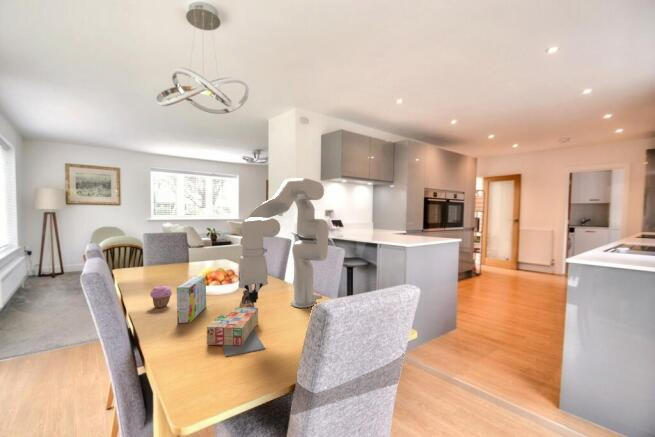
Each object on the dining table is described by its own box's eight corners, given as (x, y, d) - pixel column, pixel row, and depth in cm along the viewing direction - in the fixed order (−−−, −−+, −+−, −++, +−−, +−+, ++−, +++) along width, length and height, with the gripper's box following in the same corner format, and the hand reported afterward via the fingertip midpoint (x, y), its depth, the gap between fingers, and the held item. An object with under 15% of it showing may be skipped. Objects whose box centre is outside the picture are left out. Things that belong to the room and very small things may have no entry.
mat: (249, 322, 124) (249, 321, 124) (265, 349, 100) (265, 348, 100) (216, 327, 118) (216, 326, 118) (225, 356, 95) (225, 355, 95)
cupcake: (146, 308, 141) (146, 286, 140) (162, 302, 149) (162, 282, 148) (159, 310, 137) (159, 288, 137) (175, 305, 145) (175, 284, 145)
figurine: (258, 315, 132) (258, 288, 132) (248, 321, 125) (248, 292, 125) (245, 313, 135) (246, 286, 135) (234, 318, 128) (234, 290, 128)
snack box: (194, 307, 143) (194, 275, 143) (206, 307, 143) (206, 275, 143) (176, 323, 122) (176, 286, 121) (190, 323, 122) (190, 286, 122)
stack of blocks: (258, 322, 123) (228, 321, 123) (258, 307, 123) (228, 306, 123) (241, 346, 101) (205, 345, 102) (241, 327, 101) (205, 326, 102)
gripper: (270, 250, 117) (270, 296, 118) (230, 252, 111) (231, 301, 112) (275, 252, 111) (276, 302, 112) (233, 256, 104) (234, 308, 105)
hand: (253, 301), depth 112 cm, fingers closed
